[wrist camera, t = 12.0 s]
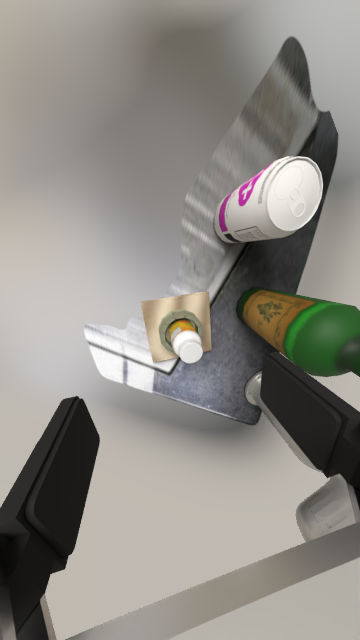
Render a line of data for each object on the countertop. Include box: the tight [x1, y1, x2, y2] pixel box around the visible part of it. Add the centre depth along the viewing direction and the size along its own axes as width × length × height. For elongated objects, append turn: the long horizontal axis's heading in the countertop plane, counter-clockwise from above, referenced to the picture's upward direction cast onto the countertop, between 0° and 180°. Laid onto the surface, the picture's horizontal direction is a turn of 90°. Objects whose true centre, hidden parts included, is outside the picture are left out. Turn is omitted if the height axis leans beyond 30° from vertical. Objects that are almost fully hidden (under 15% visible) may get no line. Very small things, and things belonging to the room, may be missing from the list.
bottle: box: [236, 288, 360, 377], centre depth 28 cm, size 11×11×28 cm
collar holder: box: [141, 291, 212, 362], centre depth 37 cm, size 14×14×4 cm
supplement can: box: [214, 156, 323, 243], centre depth 26 cm, size 8×8×15 cm
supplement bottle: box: [169, 319, 203, 363], centre depth 33 cm, size 5×5×10 cm
